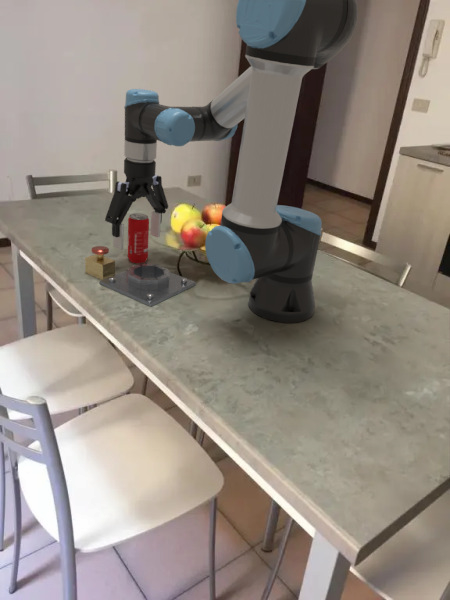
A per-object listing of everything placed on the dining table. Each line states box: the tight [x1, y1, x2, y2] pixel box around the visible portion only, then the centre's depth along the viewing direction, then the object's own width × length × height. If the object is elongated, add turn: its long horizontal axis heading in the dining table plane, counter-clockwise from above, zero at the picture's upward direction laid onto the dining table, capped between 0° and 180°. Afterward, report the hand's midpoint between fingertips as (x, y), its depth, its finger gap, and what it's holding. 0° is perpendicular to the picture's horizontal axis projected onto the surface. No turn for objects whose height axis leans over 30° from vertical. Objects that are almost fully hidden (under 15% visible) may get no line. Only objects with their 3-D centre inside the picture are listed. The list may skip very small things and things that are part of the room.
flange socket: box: [99, 262, 196, 308], centre depth 123 cm, size 16×16×3 cm
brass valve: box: [84, 245, 116, 280], centre depth 125 cm, size 6×4×7 cm, turn 55°
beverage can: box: [127, 212, 150, 265], centre depth 133 cm, size 5×5×12 cm
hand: (137, 241), depth 134 cm, fingers open, 13 cm apart
